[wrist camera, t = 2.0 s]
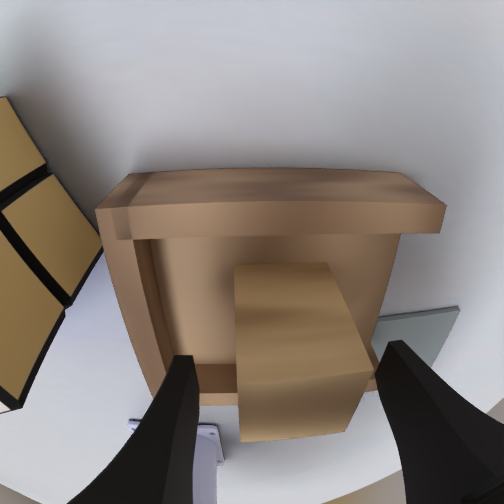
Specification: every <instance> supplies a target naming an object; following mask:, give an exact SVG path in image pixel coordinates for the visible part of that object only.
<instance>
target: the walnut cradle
mask: <svg viewBox="0 0 504 504" xmlns="http://www.w3.org/2000/svg"><path fill="white" fill-rule="evenodd" d="M446 206H447V205H446V204H444V203H443V202H442V201H440V200H439V199H438V198H436V197H435V196H433V195H432V194H431V193H429V192H428V191H426V190H425V189H423V188H422V187H421V186H419V185H418V184H416V183H415V182H413V181H412V180H410V179H409V178H407V177H406V176H404V175H403V174H401V173H393V172H380V171H364V170H344V169H317V168H228V169H201V170H181V171H165V172H151V173H138V174H128V175H127V176H126V177H125V178H124V179H123V180H122V181H121V182H120V183H119V184H118V185H117V186H116V187H115V188H114V189H113V190H112V192H111V193H110V194H109V195H108V196H107V197H106V198H105V199H104V200H103V201H102V202H101V203H100V204H99V205H98V206H97V207H96V208H95V213H96V218H97V223H98V227H99V232H100V236H101V241H102V245H103V249H104V253H105V257H106V261H107V265H108V269H109V272H110V276H111V280H112V283H113V287H114V290H115V294H116V297H117V300H118V303H119V307H120V310H121V313H122V316H123V319H124V322H125V325H126V328H127V331H128V334H129V337H130V340H131V343H132V346H133V349H134V351H135V354H136V357H137V359H138V362H139V365H140V367H141V370H142V372H143V375H144V378H145V380H146V383H147V385H148V387H149V390H150V392H151V395H152V397H153V399H154V397H155V395H156V394H157V392H158V390H159V388H160V386H161V384H162V382H163V380H164V378H165V376H166V373H167V371H168V369H169V366H170V364H171V361H172V359H173V357H174V356H175V355H193V358H194V363H195V368H196V373H197V378H198V383H199V387H200V403H199V405H238V391H237V367H236V335H235V296H234V265H259V264H291V263H320V262H327V264H328V266H329V268H330V270H331V272H332V275H333V277H334V279H335V281H336V283H337V285H338V288H339V290H340V292H341V294H342V296H343V299H344V301H345V303H346V305H347V307H348V310H349V312H350V314H351V317H352V319H353V321H354V323H355V326H356V328H357V330H358V333H359V335H360V337H361V340H362V342H363V344H364V347H365V349H366V352H367V354H368V356H369V359H370V361H371V364H372V366H373V369H374V371H373V374H372V376H371V378H370V381H369V383H368V385H367V387H366V389H365V392H369V391H375V390H378V389H377V384H376V380H375V375H374V374H375V372H376V370H377V367H378V365H379V360H378V358H377V356H376V354H375V351H374V349H373V347H372V344H371V342H370V339H371V336H372V333H373V331H374V328H375V324H376V321H377V318H378V315H379V312H380V309H381V306H382V302H383V299H384V296H385V292H386V289H387V285H388V282H389V278H390V275H391V271H392V267H393V263H394V259H395V255H396V251H397V247H398V243H399V239H400V235H401V233H440V230H441V226H442V222H443V218H444V214H445V210H446Z"/></svg>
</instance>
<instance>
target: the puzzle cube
mask: <svg viewBox="0 0 504 504" xmlns="http://www.w3.org/2000/svg"><path fill="white" fill-rule="evenodd" d="M103 252H104V249H103V245H102V241H101V237H100V236H99V234H98V233H97V232H96V231H95V229H94V228H93V227H92V225H91V224H90V223H89V222H88V220H87V219H86V218H85V216H84V215H83V214H82V212H81V211H80V210H79V208H78V207H77V206H76V204H75V203H74V202H73V200H72V199H71V198H70V196H69V195H68V193H67V192H66V191H65V189H64V188H63V186H62V185H61V184H60V182H59V181H58V179H57V178H56V176H55V175H54V174H53V173H48V172H46V161H45V160H44V158H43V157H42V155H41V154H40V152H39V151H38V149H37V148H36V146H35V144H34V143H33V141H32V140H31V138H30V137H29V135H28V133H27V132H26V130H25V129H24V127H23V125H22V124H21V122H20V120H19V119H18V117H17V115H16V114H15V112H14V110H13V108H12V107H11V105H10V103H9V101H8V100H7V98H6V97H0V414H2V413H6V412H9V411H13V410H17V409H21V408H23V405H24V403H25V400H26V398H27V395H28V393H29V391H30V388H31V386H32V384H33V382H34V379H35V377H36V375H37V373H38V370H39V368H40V366H41V364H42V362H43V360H44V358H45V356H46V353H47V351H48V349H49V347H50V345H51V343H52V341H53V339H54V337H55V335H56V333H57V332H58V330H59V328H60V326H61V324H62V322H63V320H64V318H65V310H66V309H67V308H69V307H70V306H72V304H73V302H74V301H75V299H76V297H77V295H78V293H79V292H80V290H81V288H82V286H83V285H84V283H85V281H86V280H87V278H88V276H89V274H90V273H91V271H92V269H93V268H94V266H95V264H96V263H97V261H98V260H99V258H100V256H101V255H102V253H103Z"/></svg>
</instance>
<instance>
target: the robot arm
mask: <svg viewBox="0 0 504 504" xmlns="http://www.w3.org/2000/svg"><path fill="white" fill-rule="evenodd" d="M374 375H375V380H376V384H377V389H378V393H379V397H380V400H381V402H382V405H383V408H384V411H385V413H386V416H387V419H388V421H389V424H390V427H391V430H392V432H393V435H394V438H395V441H396V444H397V447H398V451H399V456H400V460H401V465H402V471H403V477H404V484H405V493H406V503H407V504H504V424H502V423H500V422H498V421H496V420H495V419H493V418H491V417H490V416H488V415H487V414H485V413H483V412H482V411H481V410H479V409H478V408H476V407H475V406H474V405H472V404H471V403H470V402H468V401H467V400H465V399H464V398H463V397H462V396H461V395H459V394H458V393H457V392H456V391H455V390H454V389H452V388H451V387H450V386H449V385H448V384H447V383H446V382H445V381H444V380H443V379H441V378H440V377H439V376H438V375H437V374H436V373H435V372H434V371H433V370H432V369H431V368H430V367H429V366H428V365H427V364H426V363H425V362H424V361H423V360H422V359H421V358H420V357H419V356H418V355H417V354H416V353H415V352H414V351H413V350H412V349H411V348H410V347H409V346H408V345H407V344H406V343H405V342H404V341H403V340H402V339H401V340H395V341H388V344H387V346H386V349H385V351H384V353H383V356H382V358H381V361H380V363H379V365H378V367H377V370H376V372H375V374H374ZM199 403H200V387H199V383H198V378H197V373H196V368H195V363H194V358H193V355H175V356H174V357H173V359H172V361H171V364H170V366H169V369H168V371H167V373H166V376H165V378H164V380H163V382H162V384H161V386H160V388H159V390H158V392H157V394H156V395H155V397H154V399H153V401H152V403H151V405H150V407H149V408H148V410H147V412H146V413H145V415H144V417H143V418H142V420H141V421H140V422H136V421H129V422H128V424H127V426H128V428H129V429H130V431H131V432H132V435H131V437H130V438H129V439H128V441H127V442H126V443H125V445H124V446H123V447H122V449H121V450H120V451H119V452H118V454H117V455H116V456H115V457H114V459H113V460H112V461H111V462H110V463H109V464H108V466H107V467H106V468H105V469H104V470H103V471H102V472H101V473H100V474H99V475H98V476H97V477H96V478H95V479H94V480H93V481H92V482H91V483H90V484H89V485H88V486H87V487H86V488H85V489H84V490H83V491H81V492H80V493H79V494H78V495H77V496H75V497H74V498H73V499H72V500H70V501H69V502H68V503H67V504H217V466H222V465H224V457H223V453H222V448H221V443H220V438H219V433H218V428H217V427H216V426H214V425H198V420H199Z"/></svg>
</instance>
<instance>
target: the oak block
mask: <svg viewBox="0 0 504 504" xmlns="http://www.w3.org/2000/svg"><path fill="white" fill-rule="evenodd" d="M234 296H235V335H236V367H237V391H238V408H239V424H240V439H241V442H254V441H271V440H283V439H293V438H303V437H311V436H318V435H326V434H332V433H338V432H344V431H345V430H346V428H347V426H348V424H349V422H350V420H351V418H352V416H353V414H354V412H355V410H356V408H357V406H358V404H359V402H360V400H361V398H362V396H363V394H364V392H365V389H366V387H367V385H368V383H369V381H370V378H371V376H372V374H373V371H374V369H373V366H372V364H371V361H370V359H369V356H368V354H367V352H366V349H365V347H364V344H363V342H362V340H361V337H360V335H359V333H358V330H357V328H356V326H355V323H354V321H353V319H352V317H351V314H350V312H349V310H348V307H347V305H346V303H345V301H344V299H343V296H342V294H341V292H340V290H339V288H338V285H337V283H336V281H335V279H334V277H333V275H332V272H331V270H330V268H329V266H328V264H327V262H320V263H291V264H259V265H234Z"/></svg>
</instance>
